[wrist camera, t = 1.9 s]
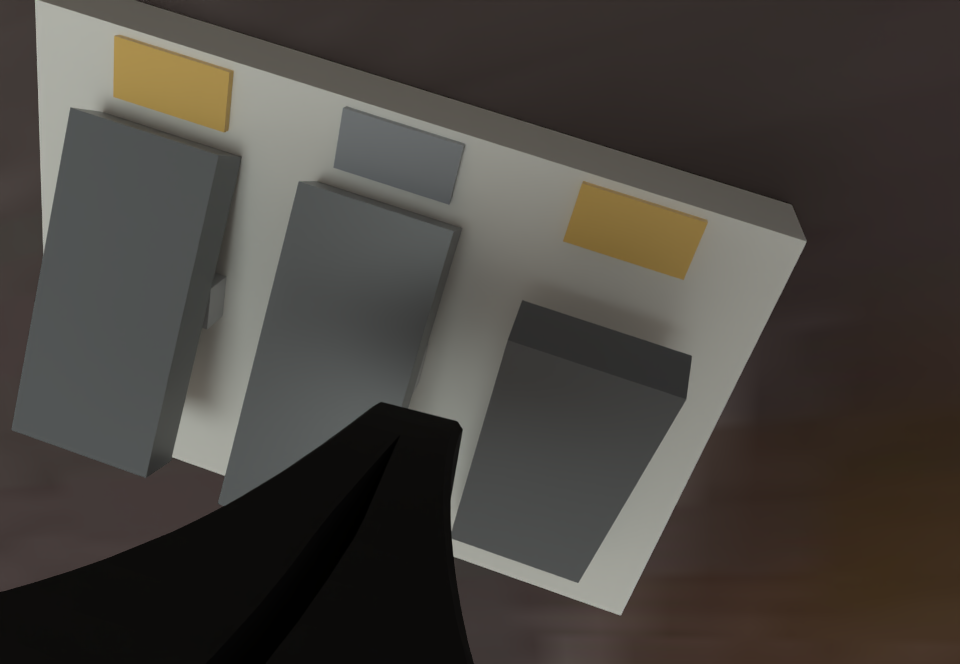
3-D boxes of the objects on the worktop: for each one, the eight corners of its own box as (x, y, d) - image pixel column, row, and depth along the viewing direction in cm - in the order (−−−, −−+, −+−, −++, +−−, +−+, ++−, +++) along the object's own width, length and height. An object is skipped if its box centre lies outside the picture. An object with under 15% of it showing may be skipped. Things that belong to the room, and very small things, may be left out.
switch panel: (791, 204, 19) (812, 255, 16) (625, 555, 25) (619, 637, 22) (103, -10, 20) (9, 2, 17) (100, 372, 26) (30, 428, 23)
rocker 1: (241, 156, 19) (218, 155, 18) (170, 460, 20) (145, 478, 19) (102, 111, 19) (70, 107, 18) (43, 416, 21) (11, 429, 20)
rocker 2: (462, 228, 18) (454, 231, 17) (371, 531, 20) (357, 553, 19) (317, 181, 19) (298, 181, 17) (239, 485, 20) (218, 503, 19)
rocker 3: (692, 355, 16) (686, 399, 15) (586, 544, 22) (578, 583, 21) (522, 299, 16) (507, 339, 15) (462, 501, 22) (449, 537, 21)
